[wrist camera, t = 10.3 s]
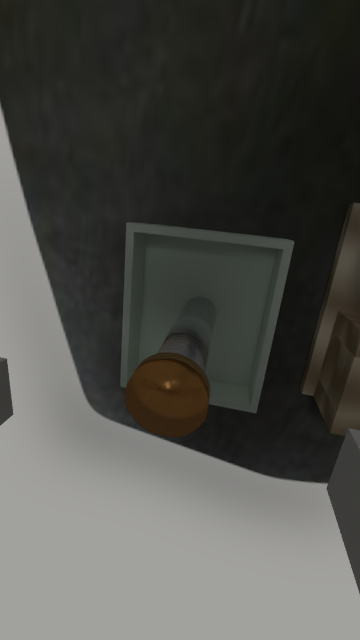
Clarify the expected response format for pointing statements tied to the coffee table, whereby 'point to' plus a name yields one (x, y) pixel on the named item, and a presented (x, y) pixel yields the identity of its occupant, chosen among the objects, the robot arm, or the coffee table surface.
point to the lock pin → (175, 375)
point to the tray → (213, 284)
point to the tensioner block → (339, 337)
